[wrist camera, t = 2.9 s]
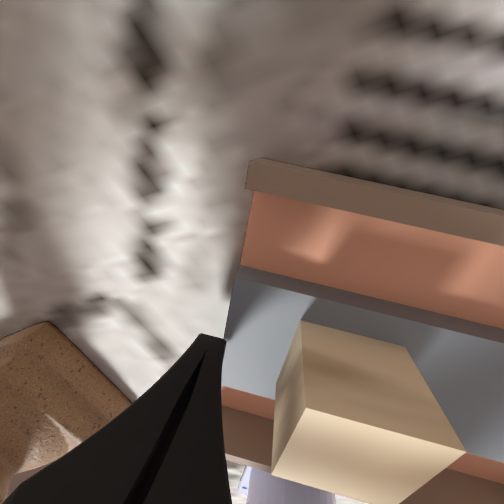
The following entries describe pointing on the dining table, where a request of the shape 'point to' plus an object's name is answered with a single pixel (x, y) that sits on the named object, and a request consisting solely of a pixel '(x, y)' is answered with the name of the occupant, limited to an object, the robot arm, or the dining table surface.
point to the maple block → (357, 418)
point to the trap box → (371, 307)
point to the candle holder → (48, 399)
